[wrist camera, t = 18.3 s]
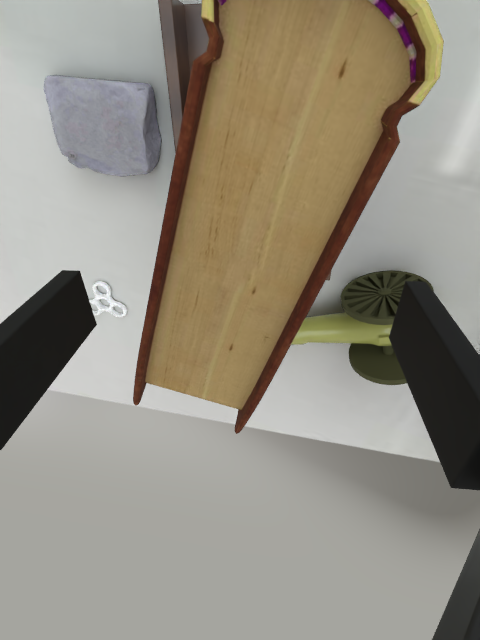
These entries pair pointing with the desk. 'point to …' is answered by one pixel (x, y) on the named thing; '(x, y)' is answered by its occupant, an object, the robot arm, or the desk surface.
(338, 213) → the decorative book
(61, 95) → the stone block
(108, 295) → the fidget spinner
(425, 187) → the desk surface
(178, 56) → the book rack
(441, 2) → the desk surface
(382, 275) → the cannon
